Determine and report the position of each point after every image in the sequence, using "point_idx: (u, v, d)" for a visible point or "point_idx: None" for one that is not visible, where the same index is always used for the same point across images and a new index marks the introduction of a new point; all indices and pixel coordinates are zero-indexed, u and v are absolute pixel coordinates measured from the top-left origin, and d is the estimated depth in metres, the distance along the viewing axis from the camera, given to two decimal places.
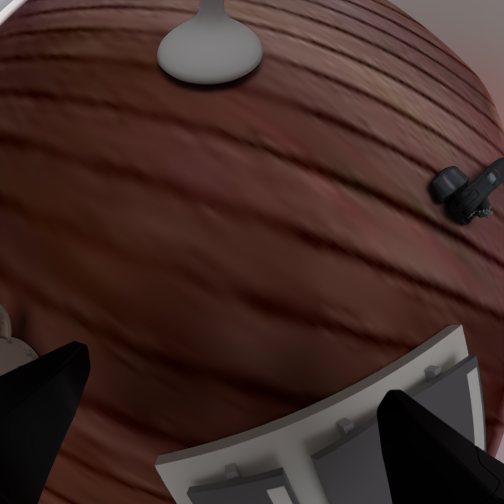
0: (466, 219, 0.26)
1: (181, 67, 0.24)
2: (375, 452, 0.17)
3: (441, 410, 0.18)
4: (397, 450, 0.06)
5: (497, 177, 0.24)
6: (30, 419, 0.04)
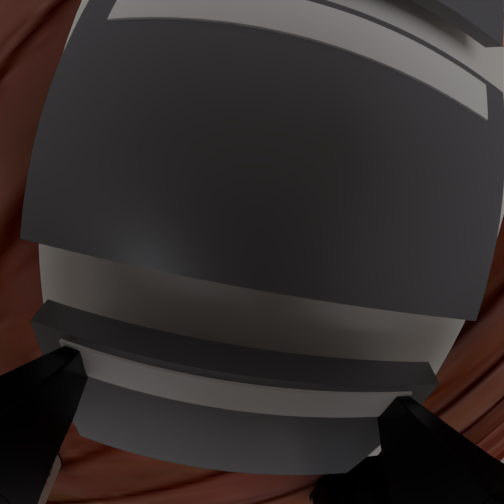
0: None
1: None
2: (149, 56, 0.05)
3: None
4: (397, 450, 0.06)
5: None
6: (30, 419, 0.04)
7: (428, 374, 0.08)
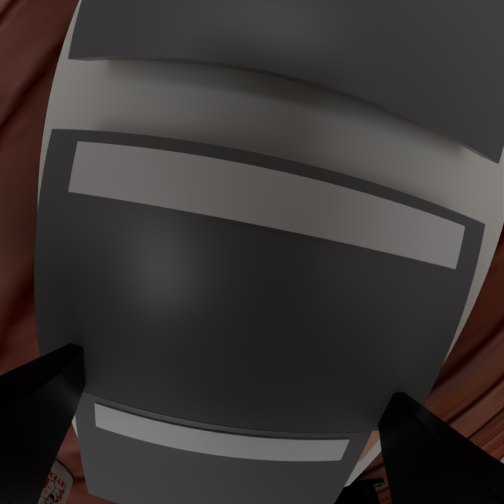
0: None
1: None
2: (116, 247, 0.06)
3: None
4: (397, 450, 0.06)
5: None
6: (30, 419, 0.04)
7: None
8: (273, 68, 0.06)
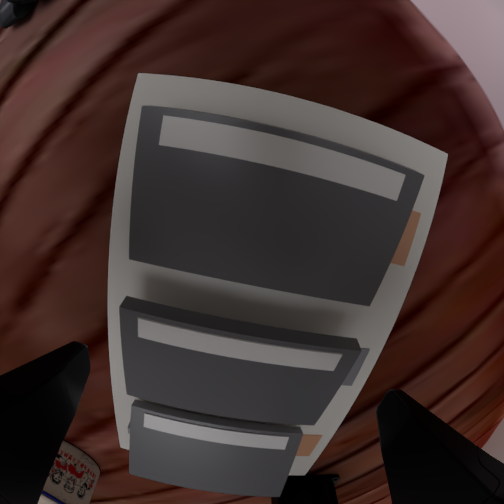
0: None
1: None
2: (166, 357, 0.14)
3: (191, 226, 0.12)
4: (397, 450, 0.06)
5: None
6: (30, 419, 0.04)
7: (298, 430, 0.18)
8: (235, 280, 0.14)
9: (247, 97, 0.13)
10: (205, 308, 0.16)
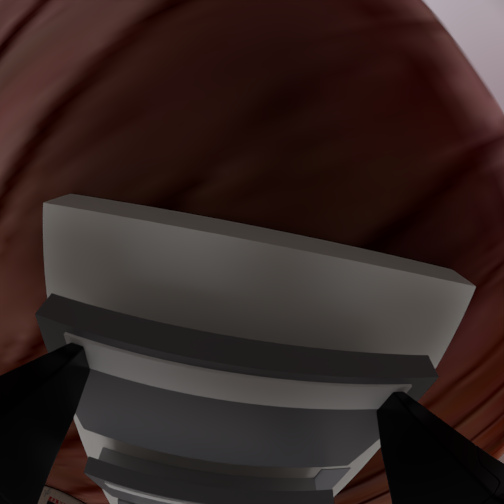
0: None
1: None
2: (140, 497, 0.11)
3: (137, 425, 0.09)
4: (396, 450, 0.06)
5: None
6: (30, 419, 0.04)
7: None
8: (197, 458, 0.10)
9: (192, 248, 0.09)
10: None
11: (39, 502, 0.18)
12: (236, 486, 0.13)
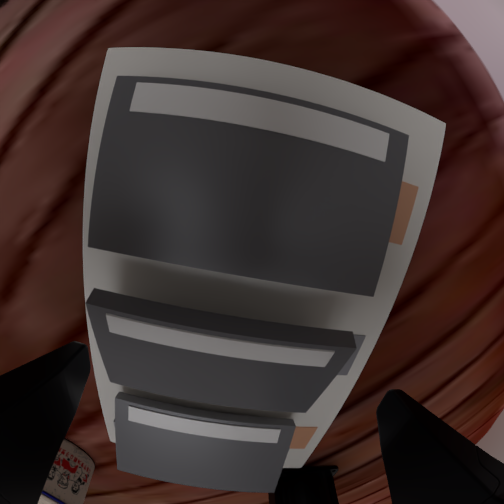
0: None
1: None
2: (142, 351, 0.13)
3: (158, 199, 0.11)
4: (397, 450, 0.06)
5: None
6: (30, 419, 0.04)
7: (290, 422, 0.18)
8: (209, 268, 0.11)
9: (222, 65, 0.11)
10: (185, 294, 0.15)
11: None
12: None
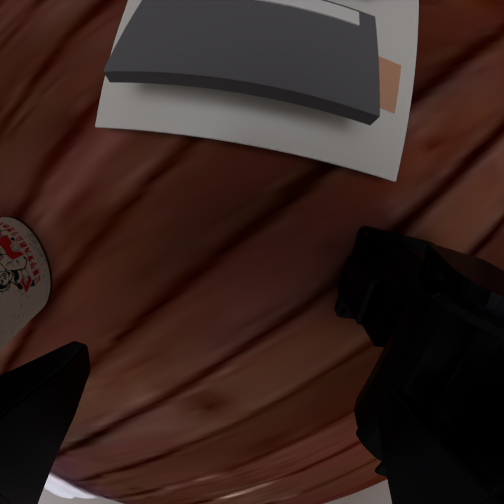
0: None
1: None
2: None
3: None
4: (397, 450, 0.06)
5: None
6: (30, 419, 0.04)
7: None
8: None
9: None
10: None
11: None
12: None
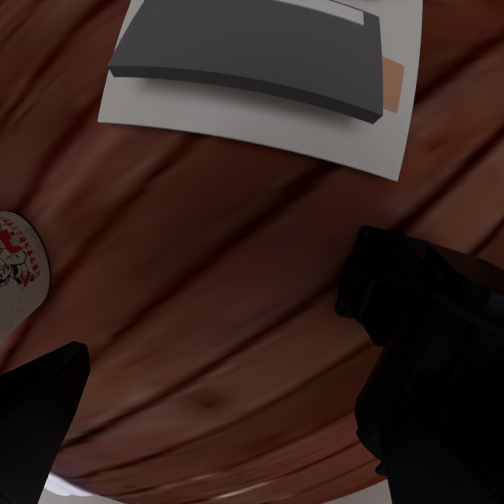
0: None
1: None
2: None
3: None
4: (396, 450, 0.06)
5: None
6: (30, 419, 0.04)
7: None
8: None
9: None
10: None
11: None
12: None
